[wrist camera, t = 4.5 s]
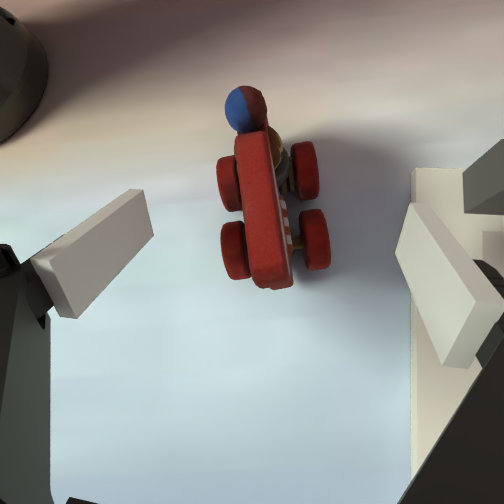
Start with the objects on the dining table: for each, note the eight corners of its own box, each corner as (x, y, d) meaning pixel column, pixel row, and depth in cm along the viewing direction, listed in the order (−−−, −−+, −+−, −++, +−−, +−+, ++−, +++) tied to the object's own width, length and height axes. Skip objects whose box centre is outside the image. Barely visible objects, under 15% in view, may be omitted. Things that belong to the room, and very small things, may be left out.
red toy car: (306, 139, 24) (315, 11, 14) (331, 292, 21) (364, 270, 11) (223, 153, 25) (174, 42, 15) (236, 302, 22) (186, 291, 12)
